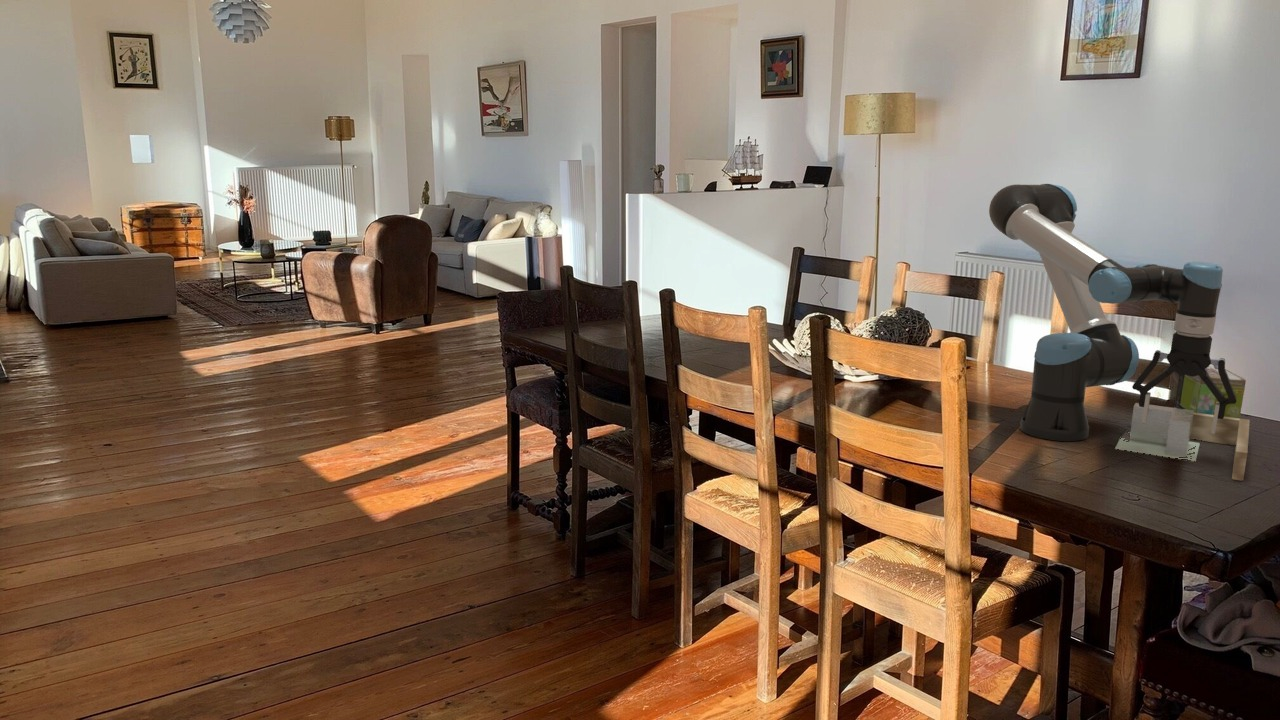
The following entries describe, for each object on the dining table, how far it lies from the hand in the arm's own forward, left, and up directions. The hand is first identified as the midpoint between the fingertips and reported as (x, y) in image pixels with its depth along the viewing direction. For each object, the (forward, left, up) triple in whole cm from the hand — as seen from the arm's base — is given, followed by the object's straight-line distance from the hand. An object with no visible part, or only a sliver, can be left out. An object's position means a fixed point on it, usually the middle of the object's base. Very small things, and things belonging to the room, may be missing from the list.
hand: (1177, 426), depth 216 cm
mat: (-4, +1, -6) cm, 7 cm away
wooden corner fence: (+3, +2, -6) cm, 7 cm away
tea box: (-7, +24, -6) cm, 26 cm away
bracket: (-4, +1, -6) cm, 7 cm away
